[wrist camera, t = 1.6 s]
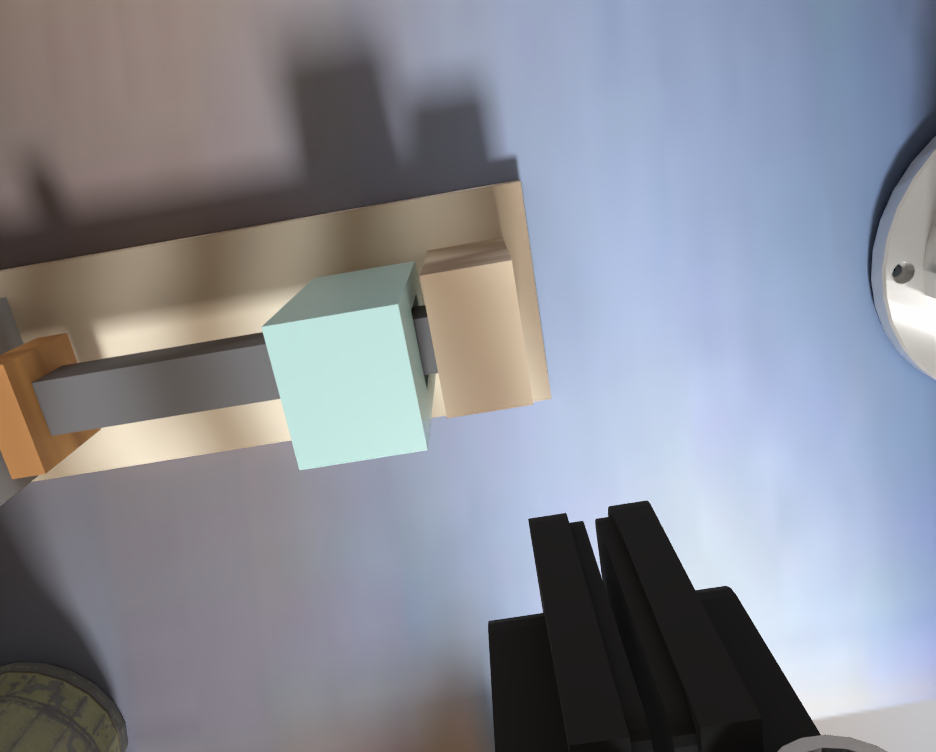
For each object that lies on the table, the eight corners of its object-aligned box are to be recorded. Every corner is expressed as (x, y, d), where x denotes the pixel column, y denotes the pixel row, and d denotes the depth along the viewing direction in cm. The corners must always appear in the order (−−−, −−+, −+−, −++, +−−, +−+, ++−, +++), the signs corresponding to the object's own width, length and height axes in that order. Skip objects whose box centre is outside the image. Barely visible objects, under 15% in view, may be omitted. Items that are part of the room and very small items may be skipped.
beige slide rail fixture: (518, 179, 29) (542, 197, 20) (548, 390, 31) (580, 485, 23) (-104, 288, 30) (-333, 349, 21) (-22, 482, 32) (-195, 605, 24)
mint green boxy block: (414, 260, 28) (398, 304, 20) (436, 372, 29) (427, 450, 22) (313, 278, 28) (261, 326, 21) (339, 388, 29) (299, 470, 22)
